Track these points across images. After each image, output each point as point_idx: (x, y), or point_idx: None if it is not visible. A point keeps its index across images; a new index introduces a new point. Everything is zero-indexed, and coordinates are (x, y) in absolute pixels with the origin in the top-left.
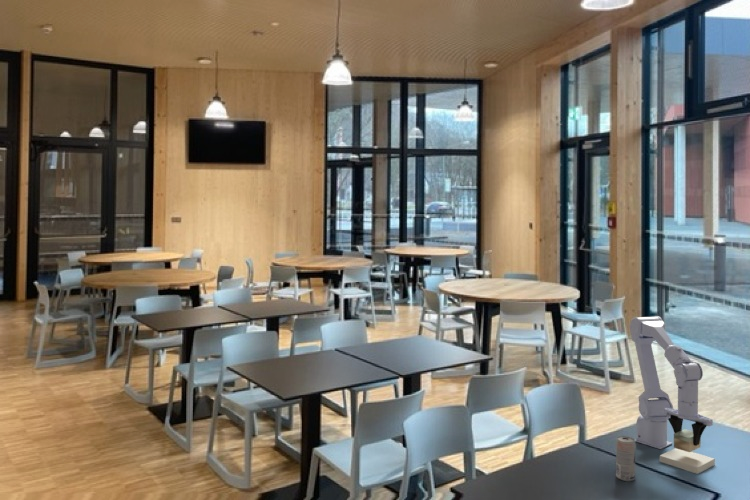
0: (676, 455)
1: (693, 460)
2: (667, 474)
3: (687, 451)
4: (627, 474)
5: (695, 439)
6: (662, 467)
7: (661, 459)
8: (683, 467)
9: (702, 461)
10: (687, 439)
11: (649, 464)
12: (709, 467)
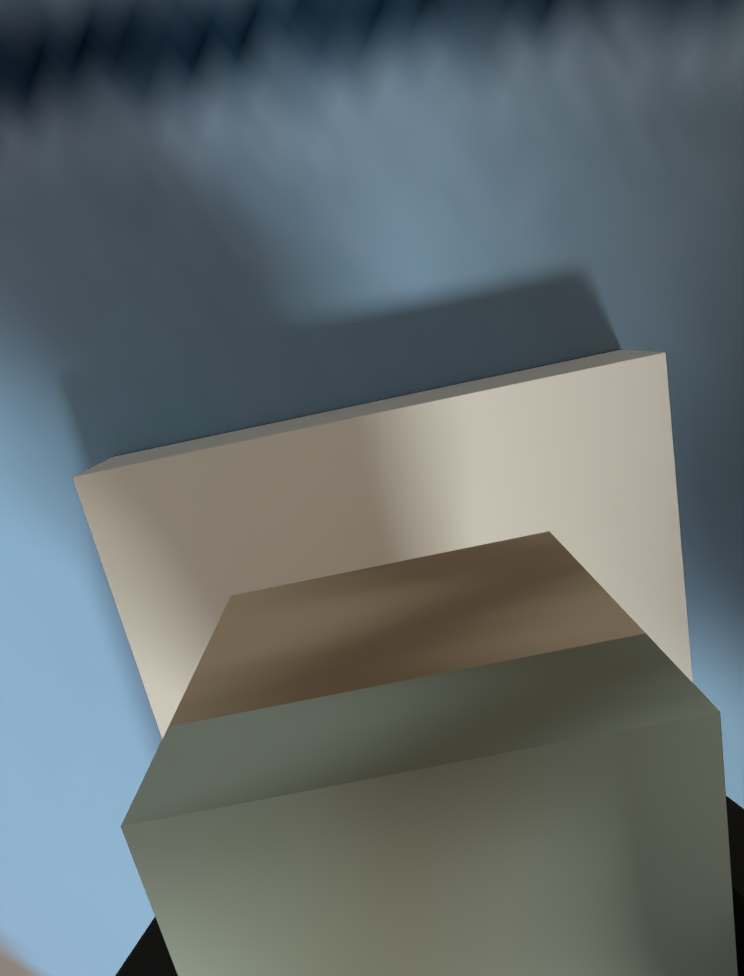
0: None
1: None
2: (261, 50)
3: (268, 590)
4: None
5: (134, 954)
6: (470, 209)
7: (612, 356)
8: (290, 424)
9: None
10: (211, 761)
11: (639, 119)
12: None
